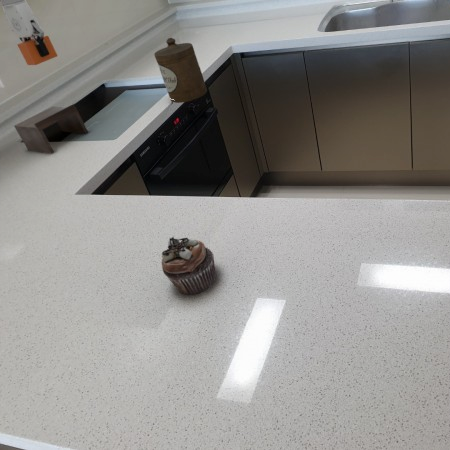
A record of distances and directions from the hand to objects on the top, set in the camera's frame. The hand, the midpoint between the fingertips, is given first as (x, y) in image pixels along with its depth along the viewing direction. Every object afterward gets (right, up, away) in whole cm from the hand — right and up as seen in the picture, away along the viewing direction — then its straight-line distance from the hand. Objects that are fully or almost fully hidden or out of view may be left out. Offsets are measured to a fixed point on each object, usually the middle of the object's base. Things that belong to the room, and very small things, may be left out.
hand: (40, 55), depth 160 cm
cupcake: (+70, -70, -71) cm, 122 cm away
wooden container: (+47, -8, +22) cm, 52 cm away
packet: (0, -1, +1) cm, 2 cm away
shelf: (+3, -29, +7) cm, 30 cm away
